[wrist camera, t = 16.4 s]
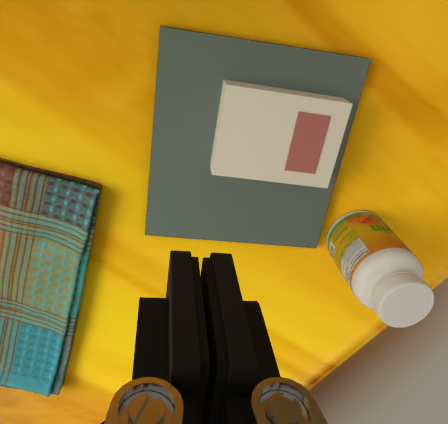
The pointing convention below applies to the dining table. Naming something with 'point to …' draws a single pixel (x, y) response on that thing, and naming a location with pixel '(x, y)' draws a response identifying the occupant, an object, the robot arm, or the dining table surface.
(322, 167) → the card box
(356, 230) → the supplement bottle
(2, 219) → the dish towel
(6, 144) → the dining table surface
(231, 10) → the dining table surface
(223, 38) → the mat
